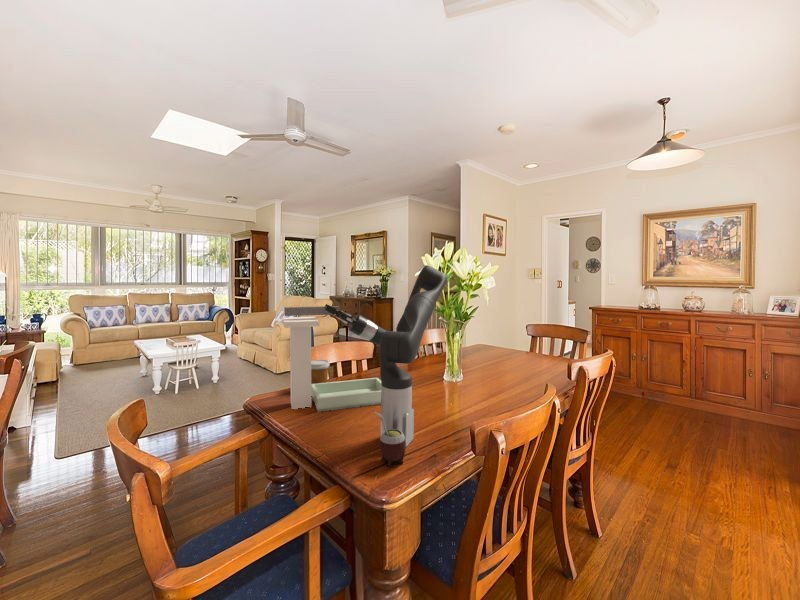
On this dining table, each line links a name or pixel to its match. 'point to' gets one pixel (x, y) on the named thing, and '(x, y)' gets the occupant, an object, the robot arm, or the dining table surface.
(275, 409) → the dining table surface
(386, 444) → the mate gourd
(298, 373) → the stand
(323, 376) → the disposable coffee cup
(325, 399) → the tray
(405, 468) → the dining table surface
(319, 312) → the bar
